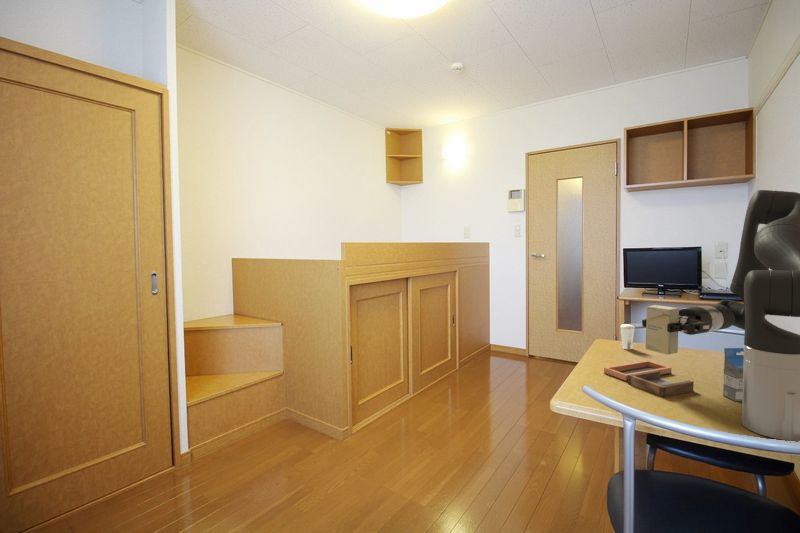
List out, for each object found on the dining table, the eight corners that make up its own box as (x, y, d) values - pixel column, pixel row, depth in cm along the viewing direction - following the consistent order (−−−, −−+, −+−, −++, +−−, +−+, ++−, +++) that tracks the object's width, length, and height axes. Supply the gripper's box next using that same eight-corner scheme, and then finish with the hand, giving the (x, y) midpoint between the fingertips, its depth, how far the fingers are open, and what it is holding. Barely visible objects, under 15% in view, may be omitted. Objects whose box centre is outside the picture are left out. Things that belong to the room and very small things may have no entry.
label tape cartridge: (735, 402, 92) (736, 352, 91) (722, 395, 96) (723, 348, 95) (772, 401, 92) (774, 351, 91) (758, 395, 95) (759, 347, 95)
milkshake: (638, 350, 137) (639, 323, 136) (622, 350, 138) (623, 323, 137) (633, 347, 141) (634, 320, 141) (618, 346, 142) (618, 320, 142)
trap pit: (671, 373, 112) (671, 367, 112) (625, 381, 107) (626, 375, 107) (647, 366, 120) (647, 360, 119) (604, 373, 114) (604, 367, 114)
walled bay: (693, 391, 99) (693, 381, 99) (663, 397, 95) (663, 387, 95) (656, 378, 108) (656, 370, 108) (628, 383, 105) (628, 375, 105)
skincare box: (645, 349, 104) (644, 306, 103) (655, 347, 105) (655, 304, 105) (669, 355, 98) (669, 309, 97) (679, 352, 100) (679, 307, 99)
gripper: (673, 303, 112) (631, 307, 107) (728, 310, 99) (683, 316, 93) (673, 327, 113) (631, 333, 108) (727, 338, 99) (683, 346, 94)
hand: (655, 325), depth 101 cm, fingers closed on skincare box, 6 cm apart
